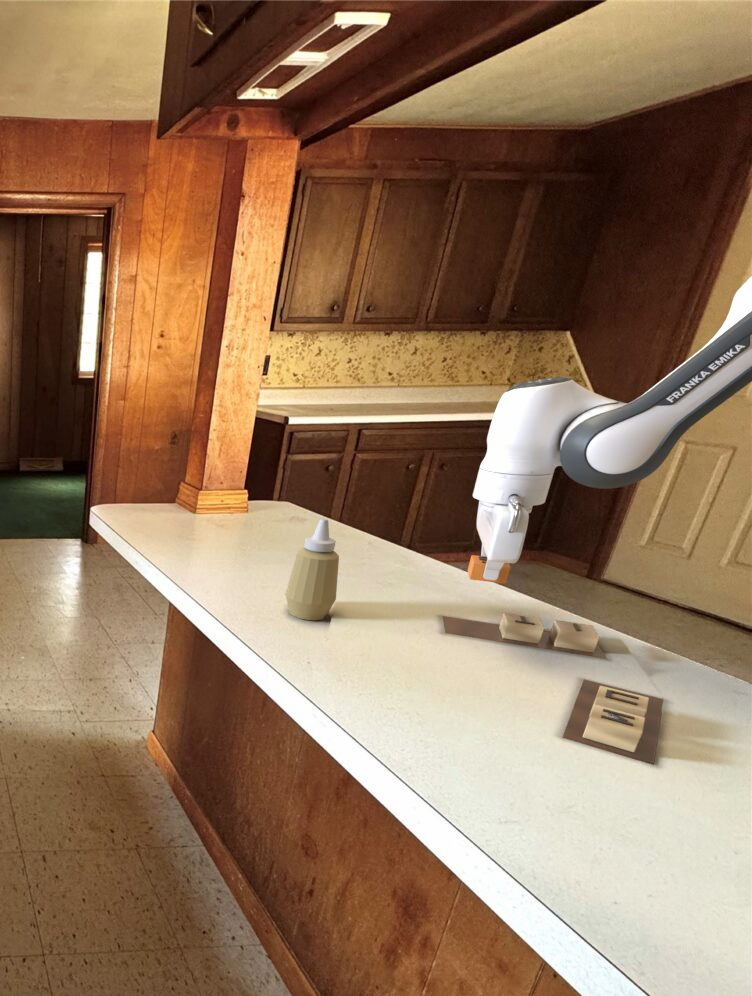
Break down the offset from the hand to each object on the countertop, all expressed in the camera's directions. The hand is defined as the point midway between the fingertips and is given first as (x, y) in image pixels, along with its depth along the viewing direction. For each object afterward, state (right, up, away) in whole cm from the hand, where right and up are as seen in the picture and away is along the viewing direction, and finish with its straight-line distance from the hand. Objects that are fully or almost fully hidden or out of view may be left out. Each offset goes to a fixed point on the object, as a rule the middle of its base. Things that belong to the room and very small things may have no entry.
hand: (487, 572), depth 107 cm
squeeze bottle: (-22, -7, +13) cm, 27 cm away
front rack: (-1, -20, -21) cm, 30 cm away
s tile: (0, -1, 0) cm, 1 cm away
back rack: (+6, -11, +1) cm, 13 cm away
